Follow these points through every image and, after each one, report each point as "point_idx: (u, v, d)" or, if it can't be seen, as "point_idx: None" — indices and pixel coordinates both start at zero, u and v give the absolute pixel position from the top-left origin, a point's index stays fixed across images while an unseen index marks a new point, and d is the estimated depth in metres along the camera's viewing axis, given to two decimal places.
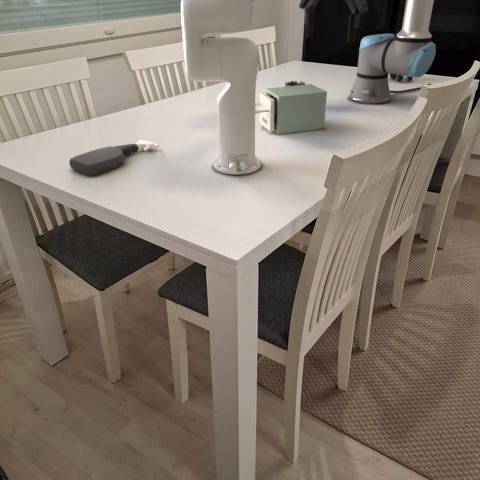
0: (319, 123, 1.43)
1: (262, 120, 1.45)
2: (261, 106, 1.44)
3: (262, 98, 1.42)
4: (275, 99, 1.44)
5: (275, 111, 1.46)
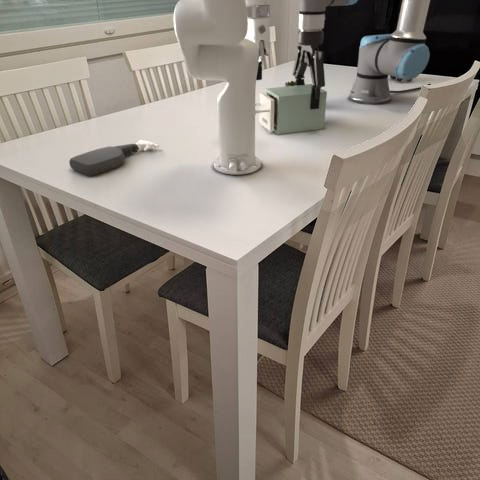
0: (319, 123, 1.43)
1: (262, 120, 1.45)
2: (261, 106, 1.44)
3: (262, 98, 1.42)
4: (275, 99, 1.44)
5: (275, 111, 1.46)
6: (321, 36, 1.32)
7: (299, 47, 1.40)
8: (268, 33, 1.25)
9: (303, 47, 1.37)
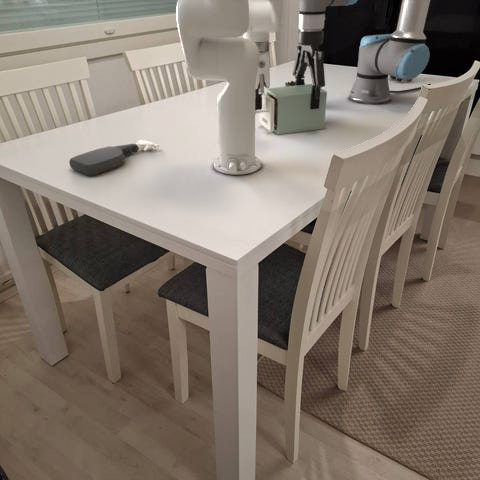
0: (319, 123, 1.43)
1: (262, 120, 1.45)
2: None
3: (262, 98, 1.42)
4: (275, 99, 1.44)
5: (275, 111, 1.46)
6: (321, 36, 1.32)
7: (299, 47, 1.40)
8: (268, 67, 1.30)
9: (303, 47, 1.37)
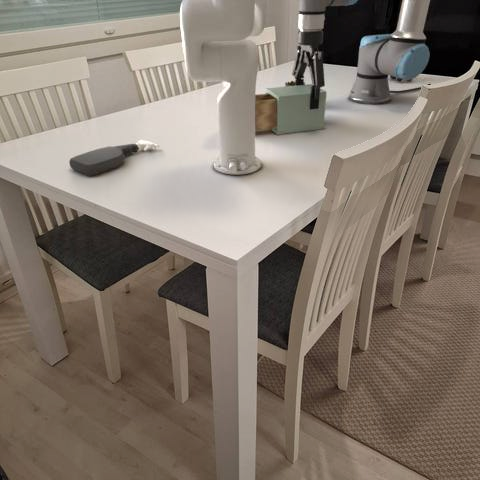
0: (319, 123, 1.43)
1: None
2: None
3: None
4: None
5: None
6: (321, 36, 1.32)
7: (299, 47, 1.40)
8: None
9: (303, 47, 1.37)
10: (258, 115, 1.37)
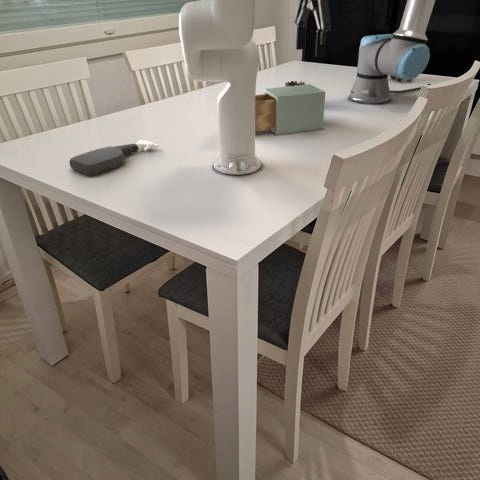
0: (318, 123, 1.43)
1: None
2: None
3: None
4: None
5: None
6: None
7: None
8: None
9: None
10: (257, 116, 1.37)
